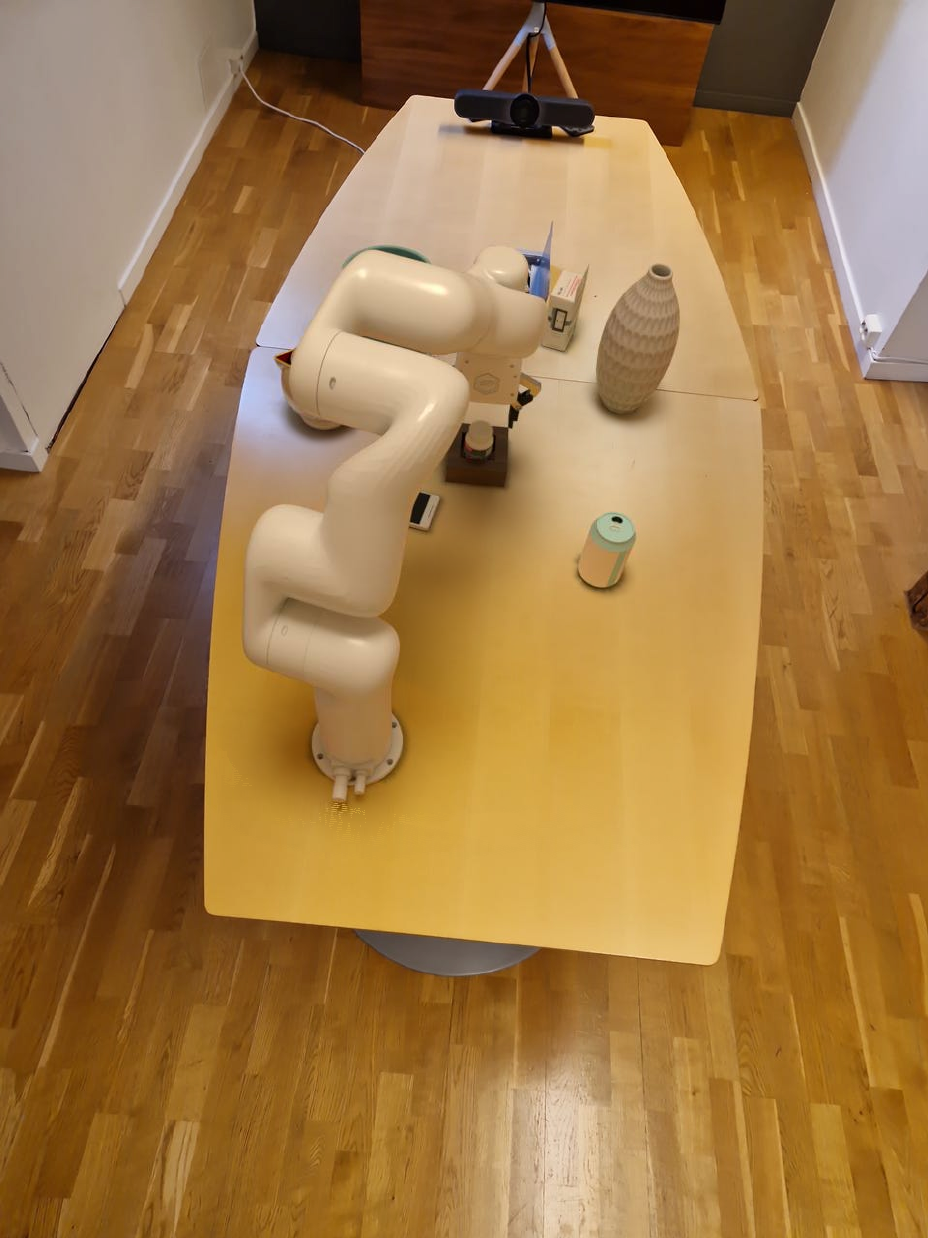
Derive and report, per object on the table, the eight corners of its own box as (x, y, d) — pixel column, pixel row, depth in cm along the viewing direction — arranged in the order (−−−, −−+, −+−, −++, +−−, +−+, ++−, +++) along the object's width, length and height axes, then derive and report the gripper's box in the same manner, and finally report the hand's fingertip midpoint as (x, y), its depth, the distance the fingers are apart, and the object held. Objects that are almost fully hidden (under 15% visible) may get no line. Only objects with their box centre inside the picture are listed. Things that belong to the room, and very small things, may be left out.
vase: (603, 368, 157) (641, 235, 133) (663, 396, 154) (713, 264, 130) (573, 408, 151) (608, 275, 127) (635, 437, 148) (682, 307, 124)
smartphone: (353, 475, 139) (353, 472, 138) (440, 499, 137) (440, 495, 136) (338, 507, 135) (338, 503, 134) (427, 531, 134) (427, 528, 133)
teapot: (278, 440, 141) (266, 367, 127) (286, 385, 148) (275, 310, 134) (382, 445, 143) (381, 373, 129) (385, 390, 150) (385, 316, 136)
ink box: (552, 319, 163) (565, 253, 151) (576, 326, 163) (591, 260, 150) (540, 345, 159) (552, 280, 146) (564, 352, 158) (579, 287, 146)
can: (570, 560, 133) (584, 514, 123) (608, 549, 135) (626, 503, 124) (588, 594, 130) (605, 550, 119) (627, 583, 131) (647, 538, 121)
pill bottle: (457, 466, 142) (461, 432, 134) (470, 448, 144) (474, 414, 137) (482, 477, 141) (486, 443, 133) (494, 459, 143) (499, 425, 136)
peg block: (504, 487, 140) (507, 471, 136) (445, 481, 140) (446, 465, 136) (506, 443, 145) (508, 427, 142) (449, 437, 145) (450, 421, 141)
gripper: (431, 344, 116) (426, 431, 131) (551, 356, 117) (533, 441, 131) (435, 310, 120) (430, 398, 135) (551, 322, 121) (533, 408, 135)
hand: (481, 419), depth 133 cm, fingers open, 9 cm apart
